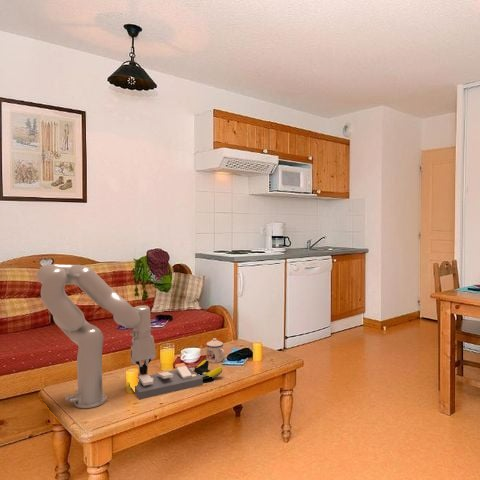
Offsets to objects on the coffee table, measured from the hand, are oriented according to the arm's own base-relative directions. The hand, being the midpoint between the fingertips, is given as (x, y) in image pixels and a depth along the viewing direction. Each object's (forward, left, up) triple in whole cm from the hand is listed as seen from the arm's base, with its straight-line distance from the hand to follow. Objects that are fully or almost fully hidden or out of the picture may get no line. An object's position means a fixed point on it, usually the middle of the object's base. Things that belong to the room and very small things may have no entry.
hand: (143, 373), depth 182 cm
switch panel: (+9, -4, -6) cm, 11 cm away
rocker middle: (+8, -4, -1) cm, 9 cm away
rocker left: (-1, -4, -1) cm, 4 cm away
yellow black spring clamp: (+30, -3, -6) cm, 30 cm away
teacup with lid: (+43, +13, -6) cm, 46 cm away
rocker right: (+17, -4, -1) cm, 18 cm away
